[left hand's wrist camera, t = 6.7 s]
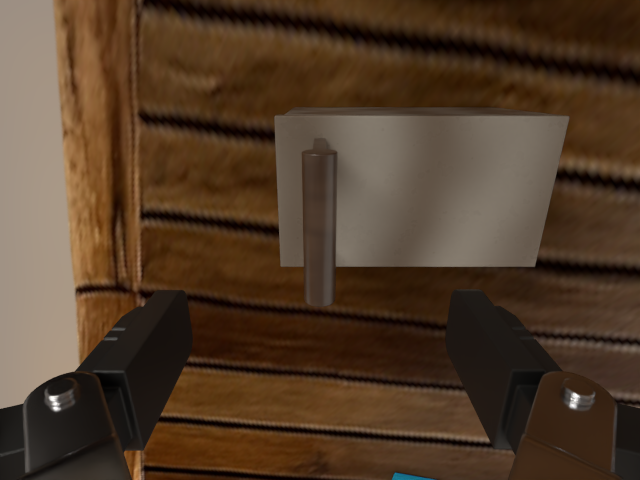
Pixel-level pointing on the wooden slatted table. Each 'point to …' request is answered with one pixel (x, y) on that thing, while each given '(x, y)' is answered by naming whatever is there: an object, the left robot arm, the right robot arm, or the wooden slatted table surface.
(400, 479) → the model building
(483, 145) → the lid
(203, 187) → the wooden slatted table surface
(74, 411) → the left robot arm
